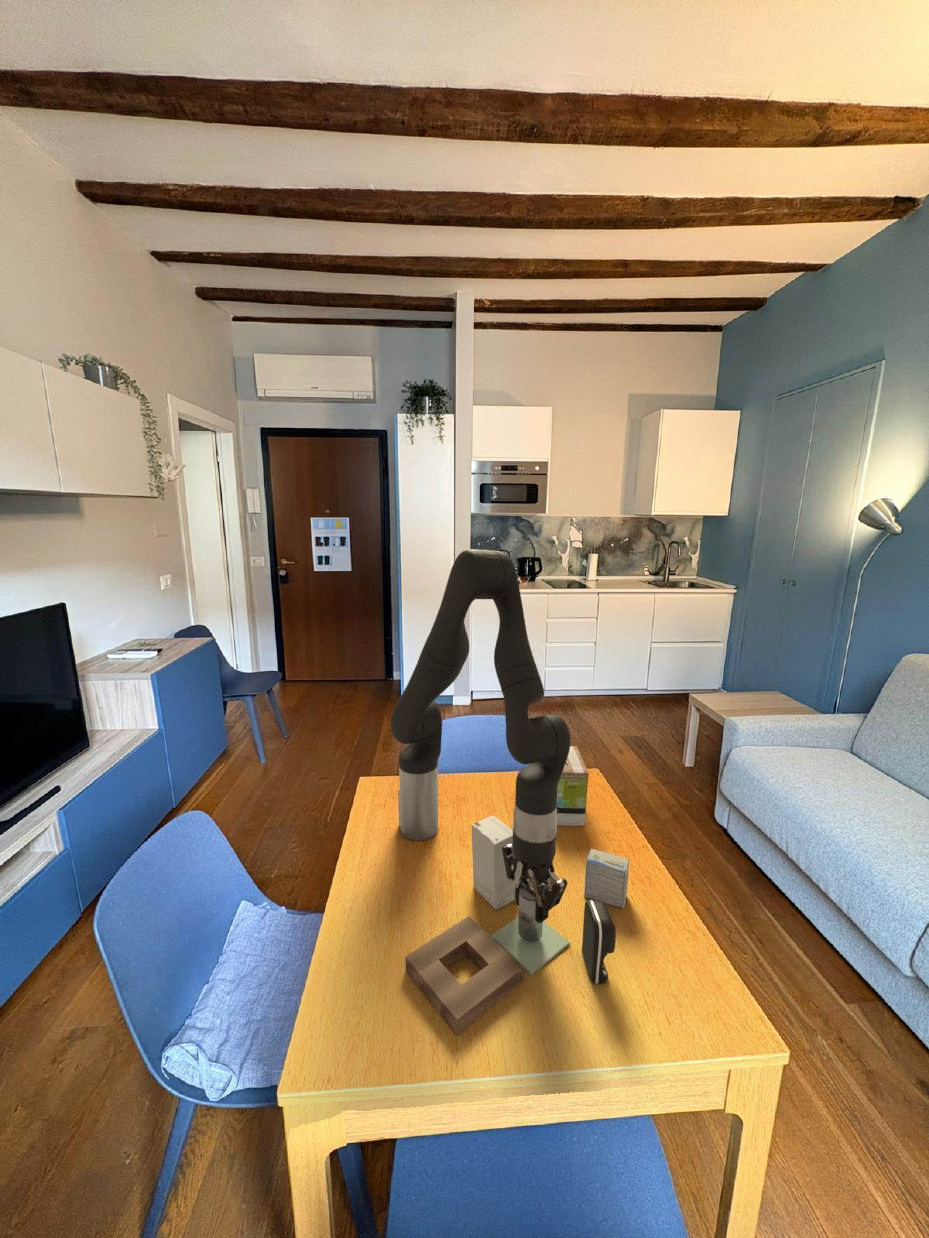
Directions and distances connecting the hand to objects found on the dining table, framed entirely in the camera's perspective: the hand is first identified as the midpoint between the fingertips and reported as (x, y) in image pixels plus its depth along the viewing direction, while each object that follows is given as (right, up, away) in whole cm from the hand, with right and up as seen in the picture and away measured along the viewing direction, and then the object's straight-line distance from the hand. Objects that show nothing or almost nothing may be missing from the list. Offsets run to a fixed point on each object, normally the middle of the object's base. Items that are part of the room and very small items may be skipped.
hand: (531, 911), depth 91 cm
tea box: (+13, +2, +42) cm, 45 cm away
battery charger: (+11, -8, -4) cm, 14 cm away
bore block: (-12, -8, -6) cm, 15 cm away
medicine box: (+17, -4, +12) cm, 21 cm away
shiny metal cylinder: (0, -4, +1) cm, 4 cm away
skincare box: (-6, -4, +13) cm, 15 cm away
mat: (0, -6, +1) cm, 6 cm away
